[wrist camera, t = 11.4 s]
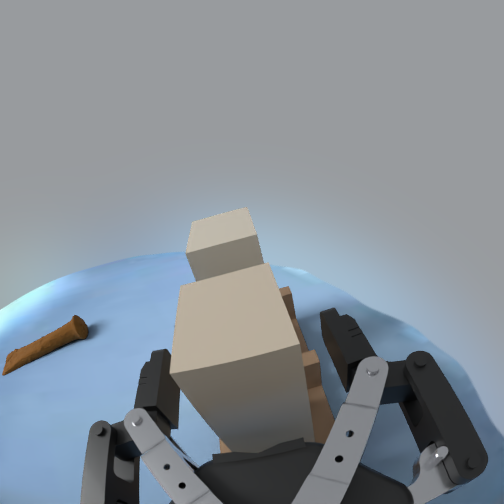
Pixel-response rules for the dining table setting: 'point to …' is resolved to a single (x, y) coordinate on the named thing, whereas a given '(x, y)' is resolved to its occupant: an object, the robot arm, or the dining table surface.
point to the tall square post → (223, 244)
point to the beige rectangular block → (241, 360)
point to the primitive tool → (46, 344)
